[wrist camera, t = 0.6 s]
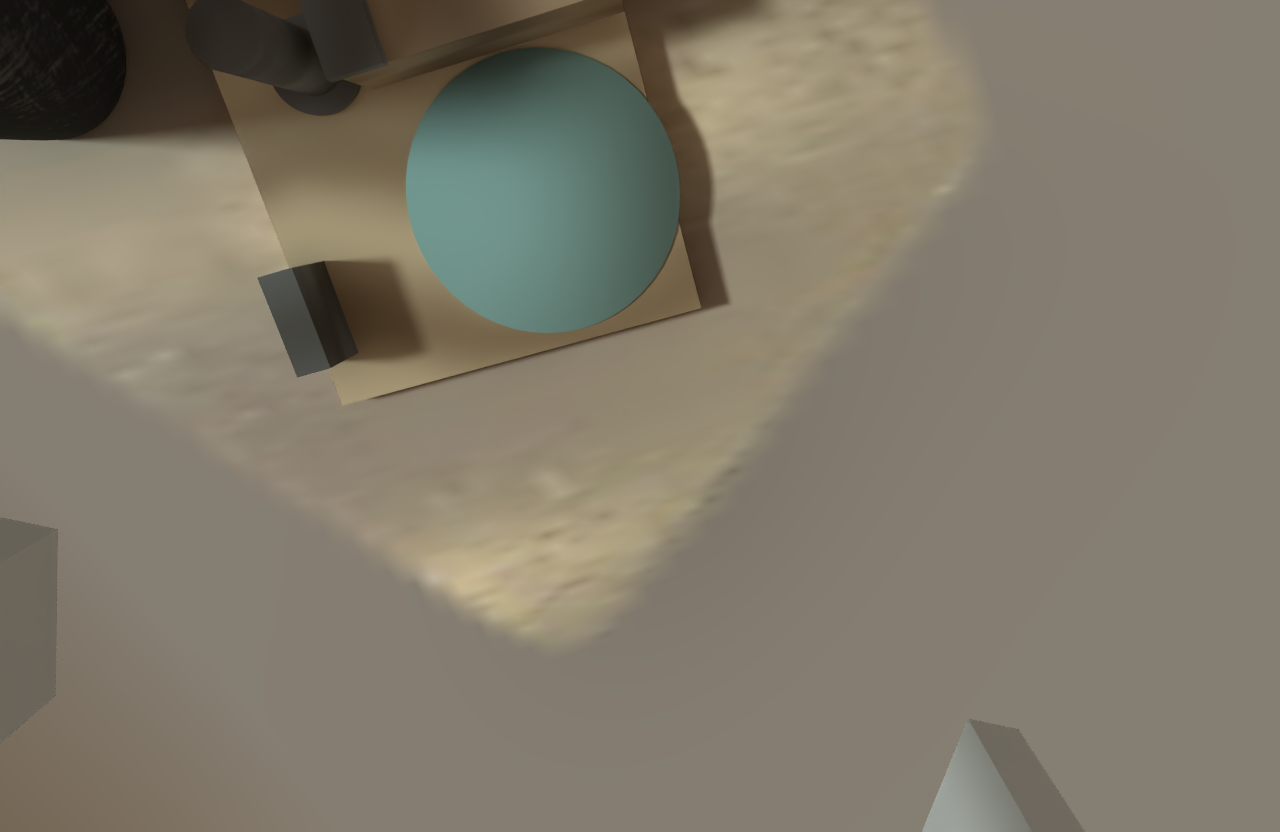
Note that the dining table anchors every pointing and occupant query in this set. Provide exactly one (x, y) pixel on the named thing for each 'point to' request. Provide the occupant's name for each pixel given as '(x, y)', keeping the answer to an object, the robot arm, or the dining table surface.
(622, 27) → the oak board
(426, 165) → the felt pad
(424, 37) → the leg bar
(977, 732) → the robot arm
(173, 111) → the dining table surface
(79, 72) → the travel mug
